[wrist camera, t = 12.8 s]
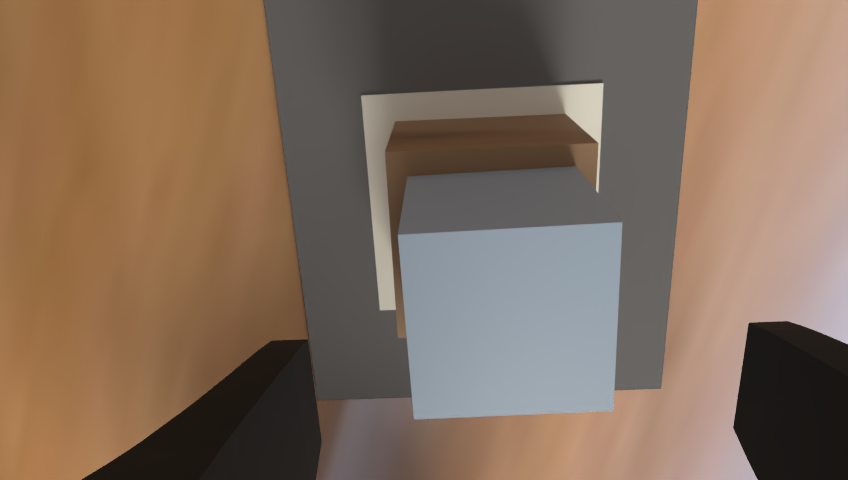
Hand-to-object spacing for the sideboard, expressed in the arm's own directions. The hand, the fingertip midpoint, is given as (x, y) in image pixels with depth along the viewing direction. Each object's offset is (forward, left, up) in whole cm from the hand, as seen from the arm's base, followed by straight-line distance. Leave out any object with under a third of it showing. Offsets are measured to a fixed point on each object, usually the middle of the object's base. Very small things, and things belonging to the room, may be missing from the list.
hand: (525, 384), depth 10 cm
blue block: (0, 0, -6) cm, 6 cm away
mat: (0, 0, -10) cm, 10 cm away
